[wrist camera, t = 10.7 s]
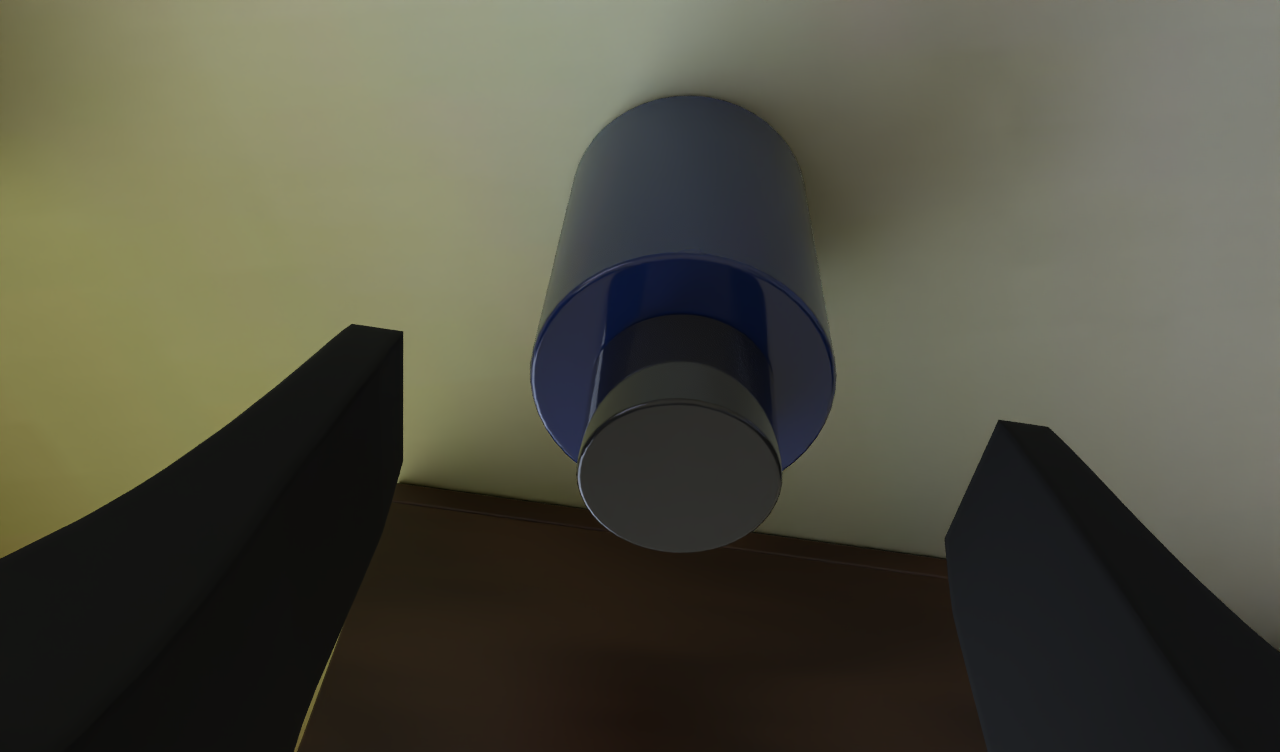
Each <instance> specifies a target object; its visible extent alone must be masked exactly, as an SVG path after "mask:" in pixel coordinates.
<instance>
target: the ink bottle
mask: <svg viewBox="0 0 1280 752" xmlns="http://www.w3.org/2000/svg"><path fill="white" fill-rule="evenodd" d="M836 376H837V375H836V364H835V356H834V350H833V345H832V339H831V333H830V328H829V322H828V316H827V311H826V305H825V299H824V294H823V288H822V282H821V277H820V271H819V265H818V260H817V254H816V248H815V243H814V237H813V231H812V226H811V220H810V214H809V209H808V203H807V197H806V192H805V186H804V182H803V178H802V174H801V170H800V168H799V165H798V163H797V161H796V158H795V156H794V155H793V153H792V151H791V150H790V148H789V146H788V145H787V143H786V142H785V141H784V140H783V139H782V137H781V136H780V135H779V134H778V133H777V132H776V131H775V130H774V129H773V128H772V127H771V126H770V125H769V124H768V123H767V122H765V121H764V120H762V119H761V118H760V117H758V116H757V115H755V114H754V113H752V112H750V111H748V110H746V109H744V108H742V107H740V106H738V105H735V104H732V103H730V102H727V101H724V100H719V99H715V98H710V97H702V96H674V97H668V98H661V99H657V100H654V101H651V102H647V103H644V104H642V105H639V106H637V107H635V108H633V109H630V110H629V111H627V112H625V113H624V114H622V115H620V116H619V117H617V118H616V119H614V120H613V121H612V122H611V123H609V124H608V125H607V126H606V127H605V128H604V129H603V130H602V131H601V132H600V133H599V134H598V135H597V136H596V137H595V138H594V139H593V141H592V142H591V144H590V145H589V146H588V148H587V149H586V151H585V153H584V154H583V156H582V158H581V160H580V162H579V164H578V167H577V170H576V173H575V176H574V180H573V184H572V188H571V192H570V197H569V201H568V205H567V209H566V213H565V217H564V221H563V226H562V230H561V234H560V238H559V242H558V246H557V251H556V255H555V259H554V263H553V267H552V271H551V276H550V280H549V284H548V288H547V292H546V296H545V300H544V305H543V309H542V313H541V317H540V321H539V325H538V330H537V334H536V338H535V342H534V346H533V351H532V357H531V362H530V383H531V390H532V396H533V399H534V402H535V405H536V409H537V412H538V414H539V416H540V418H541V420H542V422H543V424H544V426H545V428H546V429H547V431H548V432H549V434H550V435H551V437H552V438H553V440H554V441H555V442H556V443H557V445H558V446H559V447H560V448H561V449H562V450H563V451H564V452H565V454H567V455H568V456H569V457H570V458H571V459H572V460H573V461H575V462H576V463H577V472H576V476H577V484H578V488H579V491H580V494H581V497H582V499H583V501H584V503H585V505H586V507H587V508H588V510H589V511H590V512H591V514H592V515H593V516H594V517H595V519H596V520H597V521H598V522H599V523H600V524H601V525H603V526H604V527H605V528H606V529H607V530H609V531H610V532H612V533H613V534H615V535H616V536H618V537H620V538H621V539H623V540H625V541H627V542H630V543H632V544H635V545H637V546H640V547H643V548H647V549H650V550H656V551H661V552H669V553H694V552H703V551H708V550H713V549H717V548H720V547H723V546H726V545H729V544H731V543H733V542H736V541H738V540H739V539H741V538H743V537H745V536H747V535H748V534H749V533H751V532H752V531H754V530H755V529H756V528H757V527H758V526H759V525H760V524H762V523H763V522H764V520H765V519H766V518H767V517H768V515H769V514H770V513H771V511H772V509H773V508H774V506H775V504H776V502H777V500H778V497H779V495H780V491H781V487H782V474H783V473H782V471H783V470H784V469H786V468H787V467H788V466H790V465H791V464H792V463H794V462H795V461H796V460H797V459H798V458H799V457H800V456H801V455H802V454H803V453H804V452H805V451H806V450H807V449H808V448H809V446H810V445H811V444H812V443H813V441H814V440H815V439H816V438H817V436H818V434H819V433H820V431H821V429H822V428H823V426H824V424H825V422H826V420H827V418H828V415H829V413H830V410H831V408H832V404H833V400H834V395H835V390H836Z"/></svg>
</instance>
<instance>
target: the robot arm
mask: <svg viewBox="0 0 1280 752" xmlns="http://www.w3.org/2000/svg"><path fill="white" fill-rule="evenodd" d="M402 463H403V331H396V330H390V329H383V328H376V327H369V326H363V325H356V324H351V325H350V326H348V327H347V328H345V329H344V330H343V331H341V332H340V333H339V334H338V335H337V336H335V337H334V338H333V339H332V340H331V341H329V342H328V343H327V344H326V345H325V346H324V347H322V348H321V349H320V350H319V351H318V352H317V353H315V354H314V355H313V356H312V357H311V358H309V359H308V360H307V361H306V362H305V363H304V364H302V365H301V366H300V367H299V368H298V369H296V370H295V371H294V372H293V373H292V374H290V375H289V376H288V377H287V378H286V379H284V380H283V381H282V382H281V383H280V384H278V385H277V386H276V387H275V388H273V389H272V390H271V391H270V392H268V393H267V394H266V395H265V396H263V397H262V398H261V399H260V400H258V401H257V402H256V403H254V404H253V405H252V406H251V407H249V408H248V409H247V410H246V411H244V412H243V413H242V414H240V415H239V416H238V417H237V418H235V419H234V420H233V421H231V422H230V423H229V424H227V425H226V426H225V427H223V428H222V429H221V430H219V431H218V432H216V433H215V434H214V435H212V436H211V437H209V438H208V439H207V440H205V441H204V442H202V443H201V444H199V445H198V446H197V447H195V448H194V449H192V450H191V451H190V452H188V453H187V454H185V455H184V456H182V457H181V458H180V459H178V460H177V461H175V462H174V463H173V464H171V465H170V466H168V467H167V468H165V469H164V470H162V471H160V472H159V473H157V474H156V475H154V476H153V477H151V478H150V479H148V480H146V481H145V482H143V483H142V484H140V485H139V486H137V487H135V488H134V489H132V490H130V491H129V492H127V493H125V494H123V495H122V496H120V497H118V498H117V499H115V500H113V501H111V502H110V503H108V504H106V505H104V506H103V507H101V508H99V509H98V510H96V511H94V512H92V513H90V514H89V515H87V516H85V517H83V518H81V519H79V520H78V521H76V522H74V523H72V524H70V525H68V526H65V527H63V528H61V529H59V530H57V531H55V532H53V533H51V534H49V535H47V536H45V537H43V538H41V539H39V540H37V541H35V542H33V543H31V544H29V545H27V546H25V547H23V548H21V549H19V550H17V551H15V552H13V553H11V554H9V555H7V556H5V557H3V558H1V559H0V752H294V749H295V746H296V743H297V740H298V737H299V733H300V730H301V727H302V724H303V721H304V719H305V716H306V713H307V711H308V708H309V706H310V703H311V700H312V698H313V695H314V692H315V690H316V687H317V685H318V683H319V680H320V678H321V676H322V673H323V671H324V669H325V666H326V664H327V662H328V660H329V657H330V655H331V653H332V650H333V648H334V646H335V643H336V641H337V639H338V636H339V634H340V632H341V629H342V627H343V625H344V622H345V620H346V618H347V616H348V613H349V611H350V609H351V606H352V604H353V602H354V599H355V597H356V595H357V592H358V590H359V588H360V585H361V583H362V581H363V578H364V576H365V574H366V571H367V569H368V567H369V564H370V562H371V559H372V557H373V555H374V552H375V550H376V548H377V545H378V543H379V540H380V538H381V536H382V533H383V530H384V526H385V523H386V520H387V516H388V513H389V509H390V506H391V503H392V499H393V496H394V492H395V488H396V485H397V481H398V477H399V474H400V470H401V466H402ZM945 549H946V560H947V571H948V581H949V589H950V597H951V605H952V613H953V617H954V621H955V626H956V630H957V634H958V638H959V642H960V646H961V650H962V654H963V658H964V662H965V666H966V670H967V674H968V678H969V682H970V685H971V689H972V693H973V697H974V701H975V705H976V708H977V712H978V716H979V720H980V724H981V728H982V731H983V735H984V739H985V743H986V747H987V751H988V752H1280V653H1279V652H1278V651H1277V650H1276V649H1274V648H1273V647H1272V646H1271V645H1270V644H1268V643H1267V642H1266V641H1265V640H1264V639H1263V638H1262V637H1260V636H1259V635H1258V634H1257V633H1256V632H1255V631H1253V630H1252V629H1251V628H1250V627H1249V626H1248V625H1247V624H1245V623H1244V622H1243V621H1242V620H1241V619H1240V618H1239V617H1238V616H1237V615H1236V614H1235V613H1234V612H1232V611H1231V610H1230V609H1229V608H1228V607H1227V606H1226V605H1225V604H1224V603H1223V602H1222V601H1221V600H1220V599H1218V598H1217V597H1216V596H1215V595H1214V594H1213V593H1212V592H1211V591H1210V590H1209V589H1208V588H1207V587H1206V586H1204V585H1203V584H1202V583H1201V582H1200V581H1199V580H1198V579H1197V578H1196V577H1195V576H1194V575H1193V574H1192V573H1191V572H1190V571H1189V570H1188V569H1187V568H1186V567H1185V566H1184V565H1183V564H1182V563H1181V562H1180V561H1179V560H1178V559H1177V558H1176V557H1175V556H1174V555H1173V554H1172V553H1171V552H1170V551H1169V550H1168V549H1167V548H1166V547H1165V546H1164V545H1163V544H1162V543H1161V542H1160V541H1159V540H1158V539H1157V538H1156V537H1155V536H1154V535H1153V534H1152V533H1151V532H1150V531H1149V530H1148V529H1147V528H1146V527H1145V526H1144V525H1143V524H1142V523H1141V522H1140V521H1139V520H1138V519H1137V518H1136V516H1135V515H1134V514H1133V513H1132V512H1131V511H1130V510H1129V509H1128V508H1127V507H1126V506H1125V505H1124V504H1123V503H1122V502H1121V501H1120V500H1119V499H1118V498H1117V497H1116V495H1115V494H1114V493H1113V492H1112V491H1111V490H1110V489H1109V488H1108V487H1107V486H1106V485H1105V484H1104V483H1103V482H1102V481H1101V480H1100V479H1099V478H1098V476H1097V475H1096V474H1095V473H1094V472H1093V471H1092V470H1091V469H1090V468H1089V467H1088V466H1087V465H1086V464H1085V463H1084V462H1083V461H1082V460H1081V459H1080V458H1079V457H1078V456H1077V454H1076V453H1075V452H1074V451H1073V450H1072V449H1071V448H1070V447H1069V446H1068V445H1067V444H1066V443H1065V442H1064V441H1063V440H1062V439H1061V438H1060V437H1058V436H1057V435H1056V434H1055V433H1054V432H1053V431H1052V430H1051V429H1050V428H1049V427H1045V426H1038V425H1032V424H1025V423H1018V422H1011V421H1005V420H998V422H997V424H996V427H995V429H994V431H993V433H992V435H991V438H990V440H989V442H988V444H987V446H986V449H985V451H984V453H983V455H982V457H981V460H980V462H979V464H978V466H977V468H976V471H975V473H974V475H973V477H972V479H971V482H970V484H969V486H968V488H967V490H966V493H965V495H964V497H963V499H962V501H961V503H960V506H959V508H958V510H957V512H956V514H955V517H954V519H953V521H952V523H951V525H950V528H949V530H948V532H947V534H946V536H945Z"/></svg>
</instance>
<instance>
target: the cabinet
mask: <svg viewBox="0 0 1280 752" xmlns="http://www.w3.org/2000/svg"><path fill="white" fill-rule="evenodd" d="M297 752H988V751H987V747H986V743H985V739H984V735H983V731H982V728H981V724H980V720H979V716H978V712H977V708H976V705H975V701H974V697H973V693H972V689H971V685H970V682H969V678H968V674H967V670H966V666H965V662H964V658H963V654H962V650H961V646H960V642H959V638H958V634H957V630H956V626H955V621H954V617H953V613H952V605H951V597H950V589H949V581H948V571H947V560H946V559H940V558H932V557H925V556H918V555H911V554H904V553H896V552H889V551H882V550H875V549H868V548H861V547H853V546H846V545H839V544H832V543H825V542H817V541H810V540H803V539H796V538H789V537H782V536H774V535H767V534H760V533H753V532H751V533H749V534H748V535H747V536H745V537H743V538H741V539H739V540H738V541H736V542H733V543H731V544H729V545H726V546H723V547H720V548H717V549H713V550H708V551H703V552H694V553H669V552H661V551H656V550H650V549H647V548H643V547H640V546H637V545H635V544H632V543H630V542H627V541H625V540H623V539H621V538H620V537H618V536H616V535H615V534H613V533H612V532H610V531H609V530H607V529H606V528H605V527H604V526H603V525H601V524H600V523H599V522H598V521H597V520H596V519H595V517H594V516H593V515H592V514H591V512H590V511H589V510H588V509H580V508H573V507H566V506H559V505H552V504H544V503H537V502H530V501H523V500H516V499H509V498H501V497H494V496H487V495H480V494H473V493H465V492H458V491H451V490H444V489H437V488H430V487H422V486H415V485H408V484H401V483H397V485H396V488H395V492H394V496H393V499H392V503H391V506H390V509H389V513H388V516H387V520H386V523H385V526H384V530H383V533H382V536H381V538H380V540H379V543H378V545H377V548H376V550H375V552H374V555H373V557H372V559H371V562H370V564H369V567H368V569H367V571H366V574H365V576H364V578H363V581H362V583H361V585H360V588H359V590H358V592H357V595H356V597H355V599H354V602H353V604H352V606H351V609H350V611H349V613H348V616H347V618H346V620H345V622H344V625H343V627H342V630H341V633H340V636H339V638H338V641H337V644H336V647H335V649H334V652H333V655H332V658H331V660H330V663H329V666H328V668H327V671H326V674H325V677H324V679H323V682H322V685H321V688H320V690H319V693H318V696H317V699H316V701H315V704H314V707H313V710H312V712H311V715H310V718H309V721H308V723H307V726H306V729H305V732H304V734H303V737H302V740H301V743H300V745H299V748H298V751H297Z"/></svg>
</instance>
